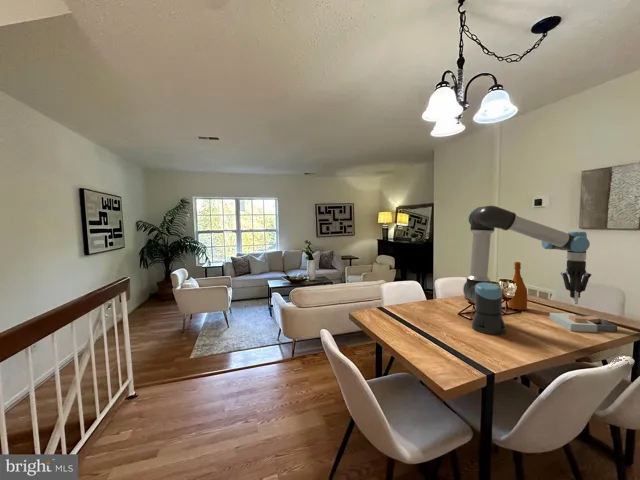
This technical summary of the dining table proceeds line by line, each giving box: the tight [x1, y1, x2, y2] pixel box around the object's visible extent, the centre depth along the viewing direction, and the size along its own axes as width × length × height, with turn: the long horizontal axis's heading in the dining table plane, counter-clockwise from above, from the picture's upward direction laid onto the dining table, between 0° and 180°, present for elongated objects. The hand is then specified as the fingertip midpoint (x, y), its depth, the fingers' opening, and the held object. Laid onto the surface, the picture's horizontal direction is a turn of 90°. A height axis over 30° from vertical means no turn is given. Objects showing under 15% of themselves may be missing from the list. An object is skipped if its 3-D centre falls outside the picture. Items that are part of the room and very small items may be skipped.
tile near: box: [569, 315, 587, 323], centre depth 141 cm, size 5×5×2 cm
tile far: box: [584, 315, 600, 323], centre depth 147 cm, size 5×5×2 cm
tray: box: [576, 314, 618, 333], centre depth 143 cm, size 8×16×3 cm, turn 167°
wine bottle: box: [507, 261, 528, 311], centre depth 174 cm, size 10×10×30 cm
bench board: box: [549, 312, 598, 333], centre depth 144 cm, size 11×18×4 cm, turn 167°
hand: (574, 303), depth 148 cm, fingers closed
